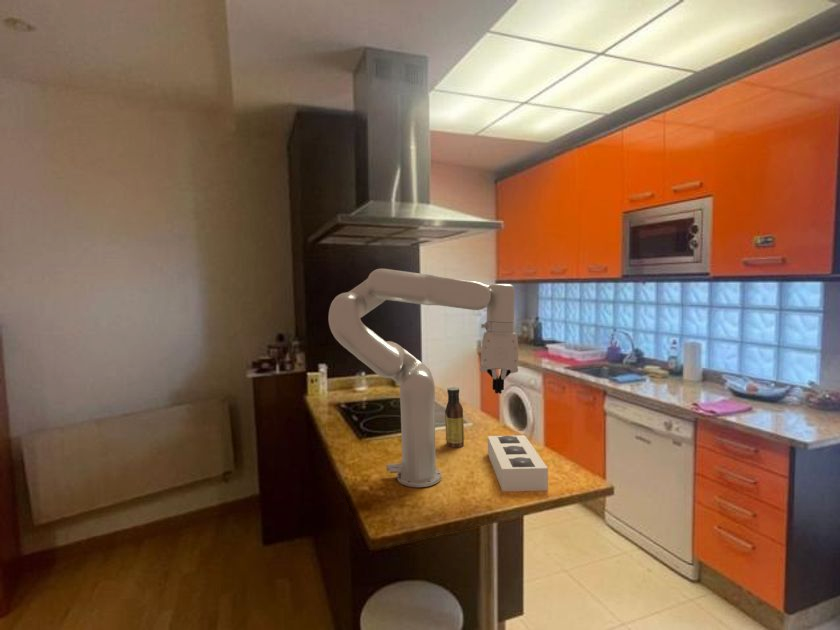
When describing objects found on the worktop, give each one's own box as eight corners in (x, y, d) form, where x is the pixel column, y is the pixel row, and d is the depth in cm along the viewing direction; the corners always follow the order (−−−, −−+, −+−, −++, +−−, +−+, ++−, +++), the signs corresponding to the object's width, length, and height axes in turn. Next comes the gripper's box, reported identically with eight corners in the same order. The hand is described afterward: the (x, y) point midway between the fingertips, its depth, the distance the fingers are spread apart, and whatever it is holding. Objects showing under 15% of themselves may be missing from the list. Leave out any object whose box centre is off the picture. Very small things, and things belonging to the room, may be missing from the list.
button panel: (502, 491, 114) (502, 469, 114) (487, 454, 140) (487, 436, 140) (548, 490, 114) (547, 468, 114) (525, 453, 140) (524, 435, 140)
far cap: (502, 458, 134) (502, 441, 134) (499, 452, 139) (499, 435, 138) (518, 458, 134) (518, 441, 133) (515, 452, 139) (515, 435, 138)
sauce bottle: (453, 440, 154) (451, 385, 153) (467, 444, 150) (466, 387, 149) (442, 446, 149) (440, 388, 148) (457, 449, 145) (456, 391, 144)
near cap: (514, 484, 116) (514, 464, 116) (510, 476, 121) (510, 457, 121) (533, 484, 116) (533, 464, 115) (528, 476, 121) (528, 457, 120)
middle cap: (507, 470, 125) (507, 452, 125) (504, 464, 130) (504, 445, 130) (525, 470, 125) (525, 451, 124) (521, 463, 130) (521, 445, 129)
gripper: (474, 328, 119) (472, 394, 120) (529, 329, 118) (527, 396, 119) (472, 326, 126) (470, 388, 127) (524, 327, 125) (522, 390, 126)
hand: (497, 392), depth 123 cm, fingers closed
